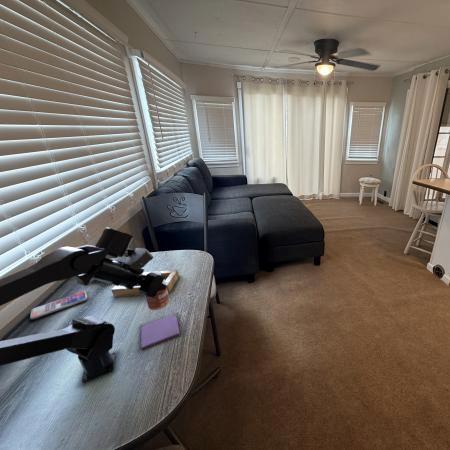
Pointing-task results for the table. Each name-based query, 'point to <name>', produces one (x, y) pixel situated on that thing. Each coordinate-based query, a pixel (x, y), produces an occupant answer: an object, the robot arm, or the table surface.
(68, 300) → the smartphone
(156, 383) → the table surface
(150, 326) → the mat
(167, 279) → the bottle rack
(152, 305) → the pill bottle
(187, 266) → the table surface
